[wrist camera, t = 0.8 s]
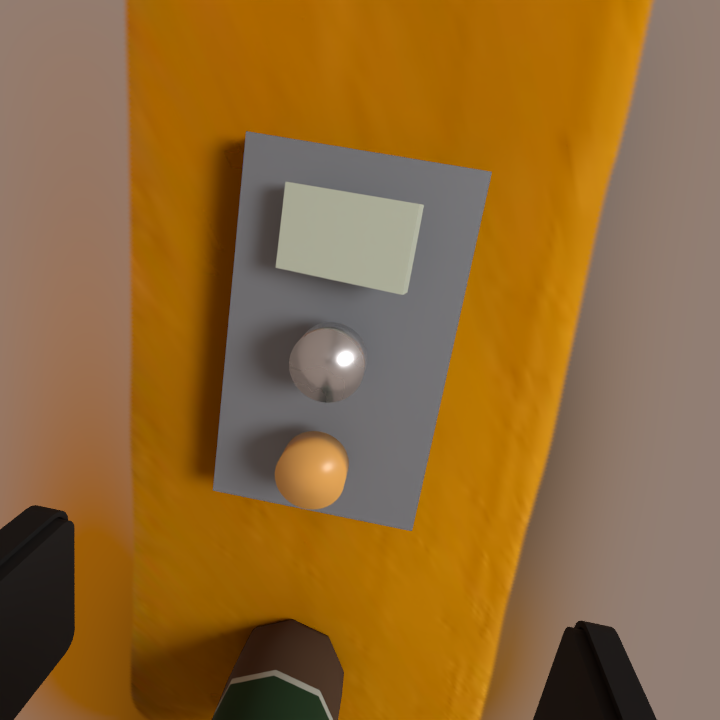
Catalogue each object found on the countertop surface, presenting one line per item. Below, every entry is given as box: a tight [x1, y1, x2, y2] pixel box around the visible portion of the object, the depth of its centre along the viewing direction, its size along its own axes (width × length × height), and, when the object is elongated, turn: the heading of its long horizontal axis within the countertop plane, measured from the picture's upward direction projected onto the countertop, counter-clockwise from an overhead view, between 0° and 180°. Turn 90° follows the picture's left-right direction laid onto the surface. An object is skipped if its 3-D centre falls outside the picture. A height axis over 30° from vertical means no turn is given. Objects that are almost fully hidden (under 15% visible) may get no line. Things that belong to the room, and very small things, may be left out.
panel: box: [213, 131, 492, 531], centre depth 29 cm, size 20×12×4 cm, turn 171°
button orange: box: [275, 431, 349, 509], centre depth 28 cm, size 4×4×2 cm
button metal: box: [289, 322, 367, 403], centre depth 26 cm, size 4×4×2 cm
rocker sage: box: [276, 182, 424, 295], centre depth 25 cm, size 4×6×1 cm, turn 81°
